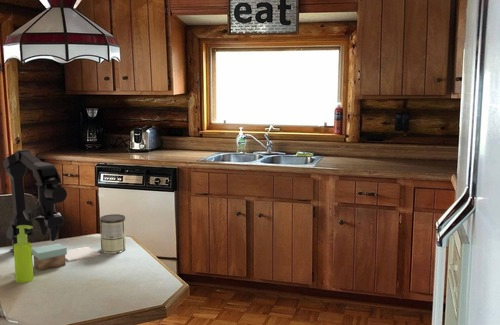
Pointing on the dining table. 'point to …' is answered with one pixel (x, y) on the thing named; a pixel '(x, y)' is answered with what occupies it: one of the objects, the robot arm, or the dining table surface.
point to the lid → (49, 251)
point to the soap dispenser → (23, 256)
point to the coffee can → (112, 233)
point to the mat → (80, 254)
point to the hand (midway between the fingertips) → (48, 237)
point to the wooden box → (49, 262)
